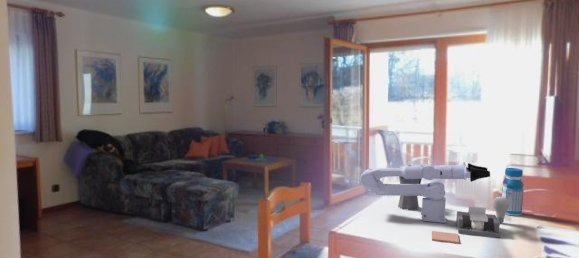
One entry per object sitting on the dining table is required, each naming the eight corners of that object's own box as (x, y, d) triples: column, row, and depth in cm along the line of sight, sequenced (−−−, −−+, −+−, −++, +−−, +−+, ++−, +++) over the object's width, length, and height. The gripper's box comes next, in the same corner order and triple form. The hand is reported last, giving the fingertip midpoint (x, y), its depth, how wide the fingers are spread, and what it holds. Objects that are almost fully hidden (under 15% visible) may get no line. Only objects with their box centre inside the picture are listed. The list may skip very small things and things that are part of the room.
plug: (471, 232, 154) (472, 220, 154) (470, 229, 159) (471, 217, 158) (484, 234, 153) (485, 222, 153) (482, 230, 157) (483, 218, 157)
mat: (431, 240, 146) (432, 238, 146) (431, 232, 154) (431, 230, 154) (459, 243, 143) (459, 241, 143) (457, 235, 151) (457, 233, 151)
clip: (470, 219, 154) (470, 211, 153) (468, 214, 161) (468, 206, 161) (487, 221, 152) (488, 213, 151) (484, 215, 159) (485, 207, 159)
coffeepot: (407, 212, 180) (409, 172, 179) (390, 207, 188) (392, 168, 187) (428, 207, 189) (430, 168, 188) (412, 202, 197) (413, 165, 196)
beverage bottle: (513, 217, 175) (516, 171, 173) (496, 211, 183) (498, 167, 181) (526, 215, 178) (529, 170, 177) (509, 210, 186) (512, 166, 184)
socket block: (458, 233, 153) (459, 220, 153) (456, 223, 166) (456, 211, 165) (499, 238, 149) (500, 224, 148) (494, 227, 161) (495, 214, 161)
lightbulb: (510, 225, 163) (512, 199, 162) (494, 224, 164) (495, 198, 163) (505, 221, 169) (507, 195, 168) (489, 220, 170) (491, 194, 169)
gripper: (452, 165, 160) (490, 165, 155) (450, 159, 173) (485, 159, 169) (453, 183, 160) (491, 183, 155) (451, 176, 174) (486, 176, 169)
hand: (488, 172), depth 162 cm, fingers open, 7 cm apart
